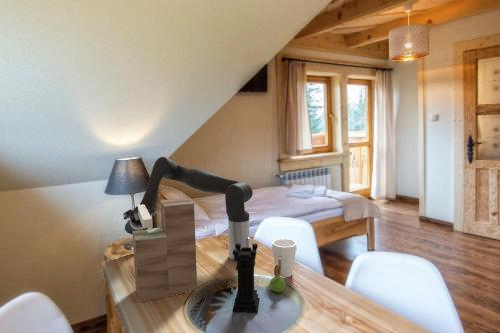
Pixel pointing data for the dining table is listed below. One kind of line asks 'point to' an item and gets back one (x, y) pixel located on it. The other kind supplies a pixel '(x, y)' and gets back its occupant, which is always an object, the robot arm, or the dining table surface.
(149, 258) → the stepped stand
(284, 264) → the foam cup
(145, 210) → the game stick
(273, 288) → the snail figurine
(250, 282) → the chess piece
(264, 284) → the dining table surface
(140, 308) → the dining table surface
